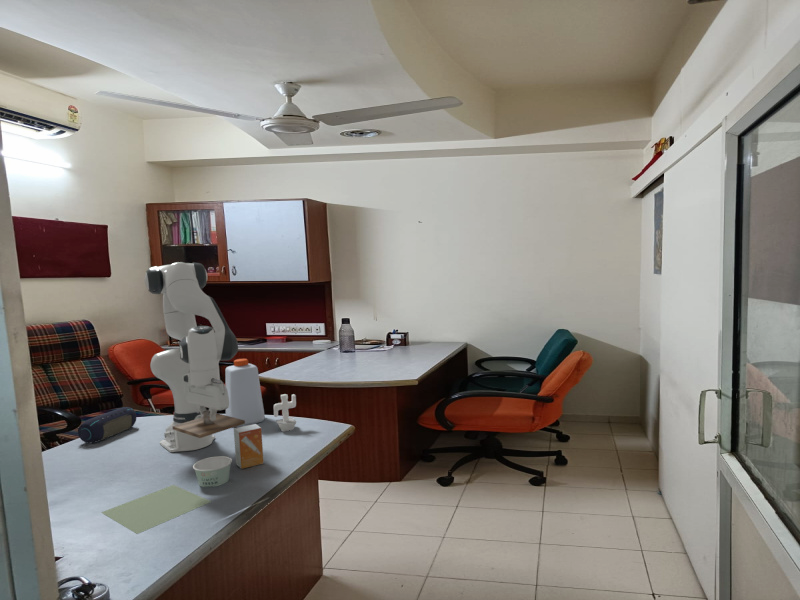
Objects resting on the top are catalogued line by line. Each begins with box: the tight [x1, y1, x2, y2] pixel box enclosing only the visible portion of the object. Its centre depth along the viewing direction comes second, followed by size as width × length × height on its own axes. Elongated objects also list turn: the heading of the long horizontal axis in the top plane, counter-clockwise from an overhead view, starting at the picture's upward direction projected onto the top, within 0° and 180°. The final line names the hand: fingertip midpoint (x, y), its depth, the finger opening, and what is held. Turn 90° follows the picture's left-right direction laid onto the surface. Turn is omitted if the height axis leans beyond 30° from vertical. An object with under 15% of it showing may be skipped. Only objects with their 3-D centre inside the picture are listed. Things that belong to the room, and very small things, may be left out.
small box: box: [233, 423, 265, 470], centre depth 187 cm, size 8×6×13 cm
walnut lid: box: [172, 409, 245, 438], centre depth 171 cm, size 16×16×5 cm
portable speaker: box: [77, 406, 137, 444], centre depth 228 cm, size 25×10×10 cm, turn 163°
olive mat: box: [101, 484, 212, 535], centre depth 156 cm, size 22×22×1 cm
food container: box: [192, 455, 233, 488], centre depth 173 cm, size 12×12×6 cm
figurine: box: [273, 393, 297, 433], centre depth 223 cm, size 7×9×15 cm
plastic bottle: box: [224, 358, 265, 428], centre depth 238 cm, size 15×15×28 cm
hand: (208, 419), depth 171 cm, fingers closed on walnut lid, 3 cm apart
